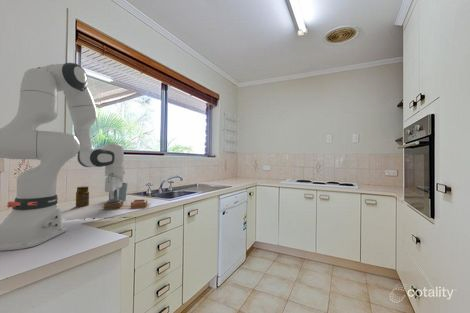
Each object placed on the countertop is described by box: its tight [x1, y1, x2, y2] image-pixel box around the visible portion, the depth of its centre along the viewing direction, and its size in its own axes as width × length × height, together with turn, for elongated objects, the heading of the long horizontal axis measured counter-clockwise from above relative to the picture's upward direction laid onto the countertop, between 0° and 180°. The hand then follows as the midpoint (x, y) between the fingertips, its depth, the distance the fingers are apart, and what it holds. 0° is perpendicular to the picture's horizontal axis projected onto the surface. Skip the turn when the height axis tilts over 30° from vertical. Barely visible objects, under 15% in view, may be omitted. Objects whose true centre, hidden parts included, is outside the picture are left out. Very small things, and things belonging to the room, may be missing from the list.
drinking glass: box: [119, 182, 128, 202], centre depth 137 cm, size 10×10×12 cm
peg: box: [108, 187, 119, 203], centre depth 120 cm, size 4×4×11 cm
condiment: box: [75, 185, 90, 208], centre depth 121 cm, size 7×8×12 cm
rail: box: [99, 198, 151, 211], centre depth 121 cm, size 12×24×4 cm, turn 104°
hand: (113, 197), depth 120 cm, fingers open, 5 cm apart
